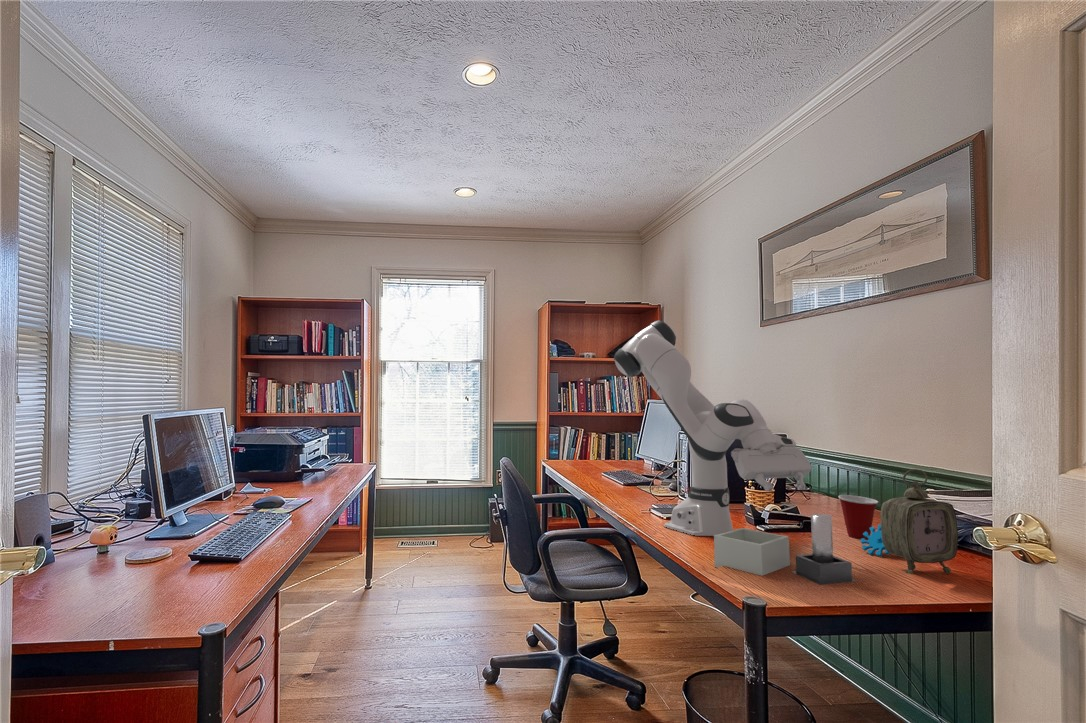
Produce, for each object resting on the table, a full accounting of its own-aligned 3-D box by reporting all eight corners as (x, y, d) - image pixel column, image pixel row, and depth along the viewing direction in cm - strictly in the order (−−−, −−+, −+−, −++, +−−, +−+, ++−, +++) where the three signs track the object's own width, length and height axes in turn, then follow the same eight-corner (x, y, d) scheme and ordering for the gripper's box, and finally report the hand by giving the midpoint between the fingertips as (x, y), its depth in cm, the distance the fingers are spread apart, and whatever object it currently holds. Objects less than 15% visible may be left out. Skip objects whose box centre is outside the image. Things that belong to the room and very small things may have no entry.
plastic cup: (879, 543, 166) (878, 501, 167) (838, 538, 172) (836, 498, 172) (880, 535, 175) (878, 496, 176) (841, 531, 181) (839, 493, 182)
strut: (808, 575, 133) (806, 515, 134) (818, 571, 136) (815, 512, 137) (829, 580, 129) (826, 518, 130) (838, 576, 132) (835, 515, 133)
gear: (852, 544, 158) (873, 518, 160) (862, 557, 160) (882, 531, 162) (887, 560, 148) (909, 532, 150) (898, 574, 149) (919, 546, 151)
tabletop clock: (908, 579, 133) (903, 472, 134) (878, 568, 141) (874, 468, 143) (960, 575, 135) (954, 470, 137) (927, 564, 144) (922, 466, 146)
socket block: (791, 575, 136) (790, 554, 137) (826, 572, 139) (826, 551, 139) (820, 589, 127) (819, 566, 127) (858, 585, 129) (857, 563, 129)
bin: (714, 567, 143) (713, 535, 144) (743, 558, 152) (742, 527, 152) (762, 579, 133) (761, 545, 134) (789, 569, 142) (788, 536, 142)
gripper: (732, 441, 152) (755, 483, 141) (799, 439, 156) (825, 480, 146) (724, 456, 156) (745, 498, 146) (789, 454, 160) (814, 494, 150)
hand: (786, 489), depth 146 cm, fingers open, 8 cm apart
